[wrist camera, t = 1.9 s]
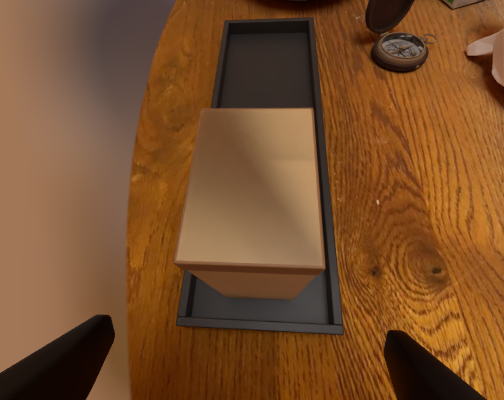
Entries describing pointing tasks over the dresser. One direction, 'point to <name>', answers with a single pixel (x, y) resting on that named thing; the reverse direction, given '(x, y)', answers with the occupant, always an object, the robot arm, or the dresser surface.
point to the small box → (459, 3)
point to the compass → (395, 36)
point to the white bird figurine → (491, 52)
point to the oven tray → (309, 96)
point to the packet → (253, 203)
